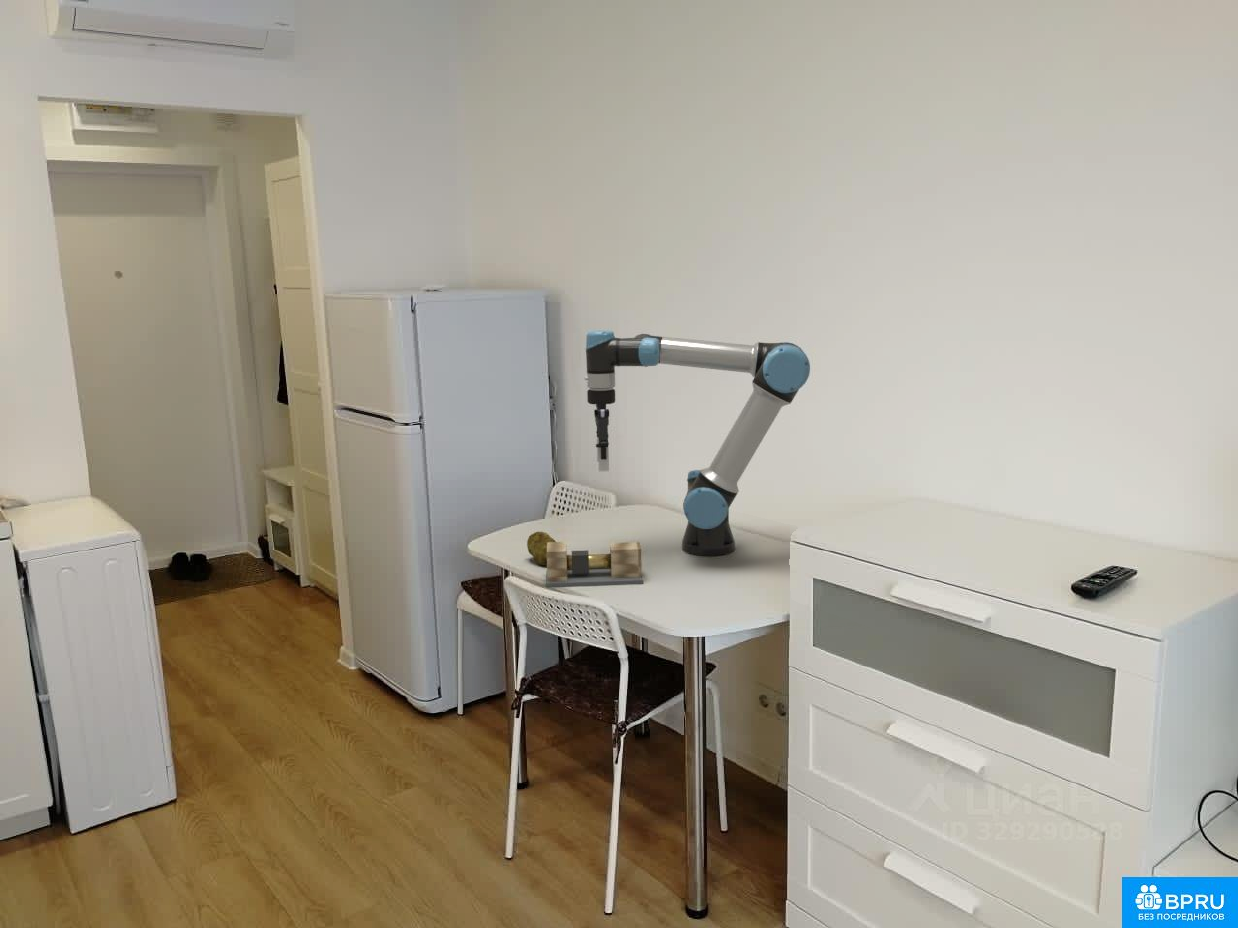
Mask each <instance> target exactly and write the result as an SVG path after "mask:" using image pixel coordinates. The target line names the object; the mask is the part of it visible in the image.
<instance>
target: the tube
mask: <svg viewBox="0 0 1238 928" xmlns="http://www.w3.org/2000/svg"><path fill="white" fill-rule="evenodd" d="M566 557H567V570H572V574H589V570H595V569H611V554H610V553H592V554H591V553H589V550H588V549H587V550H571V554H567V556H566Z"/></svg>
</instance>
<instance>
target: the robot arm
mask: <svg viewBox="0 0 1238 928" xmlns="http://www.w3.org/2000/svg"><path fill="white" fill-rule="evenodd" d="M585 345H586V346H585V347H586V348H585V356H586V376H585V377H584V381H587V382H586V383H587V386H586V387H587V388H589V389H588V390H587V391H586V392H587V395H586V396H587V399H586V400H587V403H588V404H590V405H595V407H596V409H594V411H593V413H594V419H595V420H594V421H595V426H596V444H595V448H596V462H598V472H609V471H610V466H609V465H610V461H609V460H610V456H609V454H610V453H609V451H610V450H609V445H610V442H609V430H608V428H609V424H610V423H609V422H610V421H609V420H610V418H609V417H610V410H609V408H608V409H607V405H611V404H614V403H616V389H614V388H615V387H616V371H615V367H644V368H646V367H656V366H658V365H659V364H661V365H669V366H671V365H672V366H680V367H681V366H682V367H687V368H688V367H689V368H690V367H691V368H698V369H699V368H700V369H706V370H707V369H710V370H717V371H718V370H719V371H725V372H726V371H727V372H734V373H735V372H737V373H749V374H750V375H751V376H752V377H753V379H752V382H751V383H752V384H751V385H752V388H753V391H752V393H751V394H750V396H749V398H748V400H747V401H746V403H745V404H744V406H743V408H742V409H741V412H740V413H739V414H738V417H737V419H736V420H735V422H734V424H733V425H732V427H731V429H730V431H728V434H727V436H726V438H725V439H724V440H723V443H722V444H721V446H720V448H719V450H718V451H717V453H716V455H715V456H714V458H713V460H712V461H711V463H710V465H709V466H708V467H706V468H703V469H694V470H689V472H687V479H686V481H687V492H686V495H685V497H684V500H683V504H682V507H683V513H684V516H685V518H686V519H687V525H686V527H685V531H684V534H683V537H682V541H681V549H682V550H683V551H684V552H685V553H688V554H690V555H695V556H708V557H709V556H710V557H711V556H722V555H726V554H731V553H732V552H734V551H735V549H736V541H735V537H734V534H733V531H732V529H731V526H730V521H729V519H730V518H729V517H730V512H729V511H730V507H731V505H732V503H733V502H734V500H735V499H736V497H737V495H738V494H739V491H740V490H739V487H738V483H739V480H740V479H741V477H742V476H743V474H744V473H745V470H746V468H747V467H748V465H749V463H750V462H751V460H752V458H753V457H754V455H755V453H756V452H757V450H758V448H759V447H760V445H761V444H762V441H764V438H765V436H766V434H767V433H768V431H769V430H770V428H771V426H772V424H774V421H775V419H776V417H777V416H778V414H779V412H780V411H781V409H782V407H784V406H787V405H791V404H792V402H793V400H794V399H795V397H796V396H797V394H798V392H799V390H800V389H801V388H802V387H803V386H805V384H806V383H807V381H808V379H809V377H810V372H811V364H810V360H809V358H808V356H807V354H806V353H805V351H804V350H803V349H802V348H801V347H799V345H797V344H795V343H791V342H787V341H785V342H760V341H757V342H756V343H754V344H753V345H752V344H742V343H741V344H740V343H729V342H721V341H720V342H719V341H712V340H711V341H710V340H702V339H691V338H690V339H689V338H680V337H668V336H659V335H652V334H651V335H650V334H647V333H640V334H637V335H636V336H634V337H625V338H620V337H619V338H618V337H615V333H614V331H613V330H590V331H588V332H587V333H586V344H585Z"/></svg>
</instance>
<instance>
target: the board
mask: <svg viewBox="0 0 1238 928" xmlns="http://www.w3.org/2000/svg"><path fill="white" fill-rule="evenodd" d="M545 573H546V574H545V588H559V587H561V588H565V587H588V586H589V587H590V586H591V587H593V586H616V585H617V586H619V585H622V586H623V585H624V586H625V585H644V577H643V576H642V577H632V578H612V577H611V569H595V570H589V574H572V570H567V581H550V582H548V577H547V571H546V572H545Z"/></svg>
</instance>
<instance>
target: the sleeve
mask: <svg viewBox="0 0 1238 928" xmlns="http://www.w3.org/2000/svg"><path fill="white" fill-rule="evenodd" d="M609 554H611V577H612V578H632V577H643V573H642V572H643V570H642V568H643V567H642V562H643V561H642V547H641V542H640V541H635V542H634V541H633V542H632V541H629V542H609Z"/></svg>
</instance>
